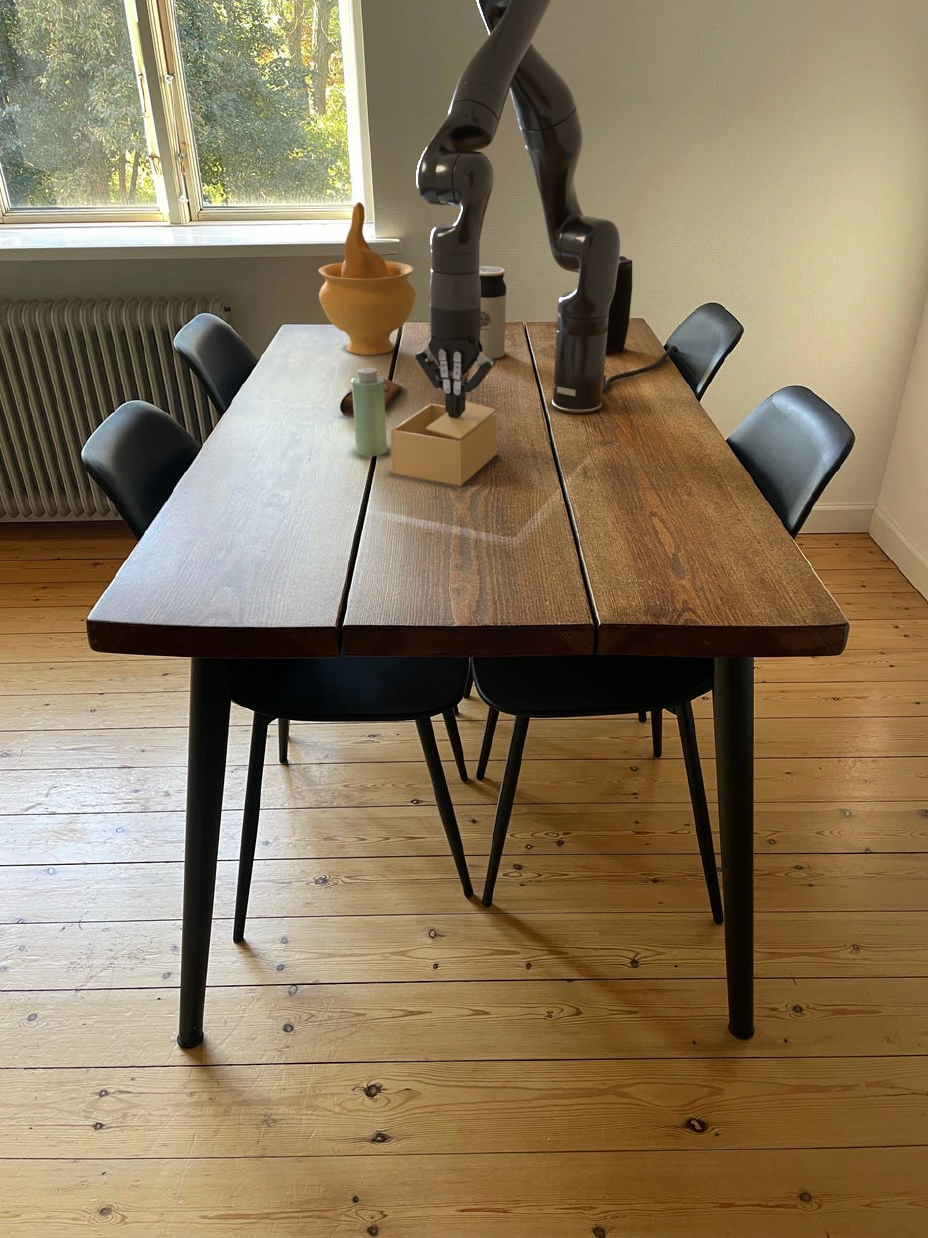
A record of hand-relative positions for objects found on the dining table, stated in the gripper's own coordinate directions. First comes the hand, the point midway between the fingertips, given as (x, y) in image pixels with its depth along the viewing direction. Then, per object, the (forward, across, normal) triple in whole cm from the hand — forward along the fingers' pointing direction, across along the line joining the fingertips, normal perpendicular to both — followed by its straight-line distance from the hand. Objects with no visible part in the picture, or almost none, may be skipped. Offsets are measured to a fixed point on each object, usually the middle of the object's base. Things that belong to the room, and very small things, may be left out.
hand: (455, 415), depth 145 cm
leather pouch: (+9, +28, -23) cm, 37 cm away
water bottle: (+9, +16, 0) cm, 18 cm away
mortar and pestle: (+9, +47, -55) cm, 73 cm away
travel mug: (+9, +21, -61) cm, 65 cm away
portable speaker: (+9, -2, -76) cm, 77 cm away
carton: (+9, +2, 0) cm, 9 cm away
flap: (+1, -1, 0) cm, 1 cm away
